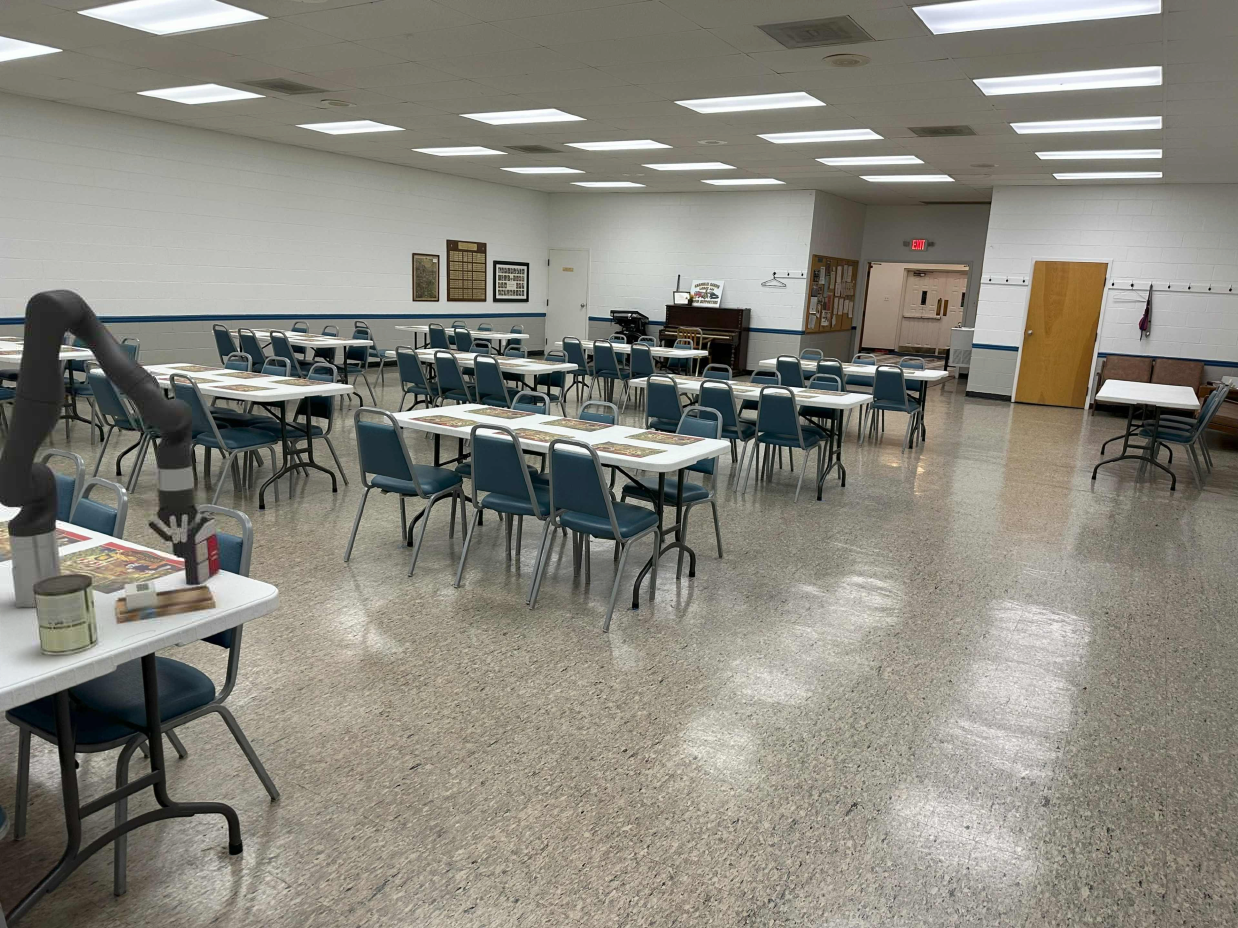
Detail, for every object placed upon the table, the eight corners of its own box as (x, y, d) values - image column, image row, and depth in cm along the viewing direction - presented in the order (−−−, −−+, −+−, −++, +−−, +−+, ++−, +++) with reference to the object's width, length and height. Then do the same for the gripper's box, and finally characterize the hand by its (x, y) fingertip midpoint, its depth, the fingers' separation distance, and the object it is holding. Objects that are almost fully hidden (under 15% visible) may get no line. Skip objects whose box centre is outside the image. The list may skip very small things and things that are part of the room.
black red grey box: (200, 585, 214) (196, 528, 211) (183, 584, 214) (178, 527, 211) (221, 571, 225) (217, 517, 222) (205, 570, 225) (201, 516, 222)
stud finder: (127, 611, 192) (125, 594, 191) (125, 600, 198) (124, 584, 197) (157, 607, 195) (156, 590, 194) (154, 596, 201) (153, 580, 200)
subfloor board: (117, 623, 189) (116, 613, 189) (115, 606, 199) (114, 596, 199) (215, 607, 200) (214, 598, 199) (209, 591, 210) (208, 583, 209)
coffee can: (33, 646, 176) (25, 582, 173) (88, 631, 184) (81, 570, 181) (50, 660, 170) (42, 594, 167) (106, 645, 178) (99, 581, 175)
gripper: (144, 491, 189) (149, 565, 193) (209, 486, 196) (213, 557, 200) (142, 484, 195) (147, 555, 199) (204, 479, 202) (208, 548, 206)
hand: (180, 556), depth 199 cm, fingers closed
